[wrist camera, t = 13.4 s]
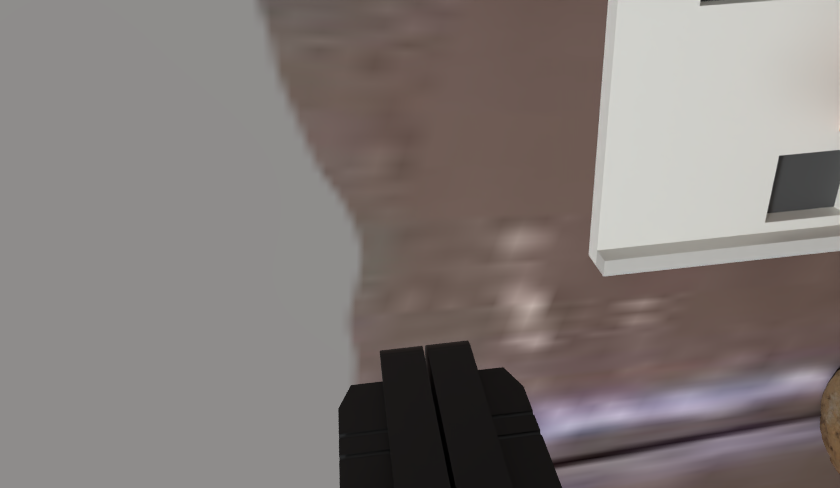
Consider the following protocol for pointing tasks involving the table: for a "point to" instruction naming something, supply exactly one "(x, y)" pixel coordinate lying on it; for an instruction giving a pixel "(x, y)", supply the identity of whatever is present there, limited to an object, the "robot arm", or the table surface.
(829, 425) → the block
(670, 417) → the table surface
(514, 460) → the robot arm
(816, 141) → the box
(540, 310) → the table surface
